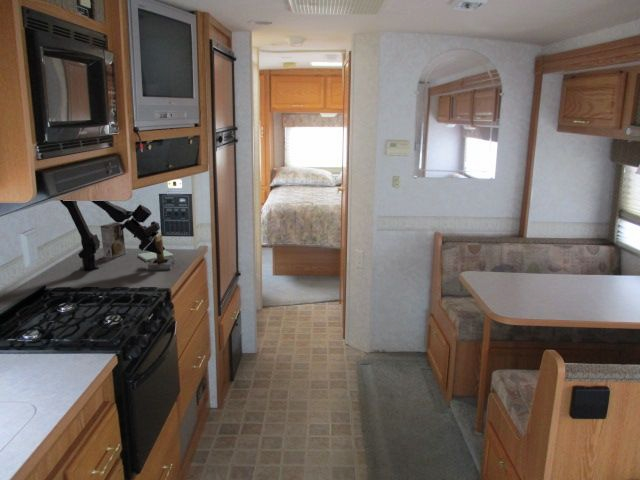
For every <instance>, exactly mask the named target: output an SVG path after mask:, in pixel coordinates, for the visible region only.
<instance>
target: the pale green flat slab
mask: <svg viewBox="0 0 640 480" xmlns="http://www.w3.org/2000/svg"><path fill="white" fill-rule="evenodd" d="M163 253H164V258H173V257H174V258H175V255H174V254H173V253H171V252H169V251H167V250H166V249H165V250H163ZM137 257H138V258H140V259H141V260H143V261H145V262H146V263H148V262H149V263H150V262H151V260H152V259H153V258H157V254H156V253H153V252H149V251H147V252H141V253H138V254H137Z"/></svg>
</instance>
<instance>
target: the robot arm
mask: <svg viewBox="0 0 640 480" xmlns="http://www.w3.org/2000/svg"><path fill="white" fill-rule="evenodd" d="M59 201H60V203H61V204H62V205H63V206H64V207H65V208H66V209H67V211H68V214H69V215H70V217H71V220H72V221H73V223H74V226H75V228H76V230H77V232H78V234H79V236H80V242H81V247H82V250H80V252H79V253H78V257H79V258H80V259H81V264H82V265H81V266H80V267H79V268H80V269H81V270H83V271H85V272H86V271H90V270H96V269H99V266H98V265H96V256H95V254H96V253H97V251H98V250H99V249H100V247H101V240H100V239H99V238H98V237H99V236H98V235H97V234H93V233H92V232H91V230H90V229H89V227H88V224H87V222H86V221H85V218H84V216H83V214H82V211H81V210H80V207H79V205H78V200H77V201H63V200H59ZM90 202H91V203H93V204H94V205H95V206H97V207H99V208H100V209H101V210H103V211H105V212H106V213H107V215H108V217H109V218H111V219H112V220H113V221H114V222H115V223H121V224H120V226H121V230H123V231H124V230H125V229H126V230H127V231H129V233H131V234H132V235H133V237H134V239H135V238H137V239H138V241H140V243H139V245H138V249H139V250H140V251H146V252H153V253H156V254H159V255H161V254H162V252H161V251H160V250H159V249H158V248H157V247H156V242H155V238H156V237H157V235H158V234H160V233H159V230H160V229H161V227H160V223H158V221H155V220H154V221H151V222H150V225H148V226H147V225H143V224H141V223H145V222H146V221H147V220H148V218H149V217H151V216H152V214H153V213H152V212H151V210H150V209H149V208H148V207H147V206H144V205H142V204H141V203H140V204H139V205H138V206H136V209H134V210H133V211H132V210H127V209H126V208H123V207H121V206H120V205H116V204H114V203H112V202H110V200H109V201H108V200H107V201H90ZM125 220H126V221H125ZM123 222H124V223H123ZM163 250H166V248H165V246H164V245H163Z"/></svg>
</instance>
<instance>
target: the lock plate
mask: <svg viewBox="0 0 640 480" xmlns="http://www.w3.org/2000/svg"><path fill="white" fill-rule="evenodd" d="M175 261H176V260H175V256H174V257H171V258H164V262H165V263H157V258H153V259H152V260H151V261H149V263H148V265H147V268H148V269H147V270H148V271H170V270H171V269H172V268H173V266H174V264H175Z"/></svg>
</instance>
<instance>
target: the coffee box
mask: <svg viewBox="0 0 640 480" xmlns="http://www.w3.org/2000/svg"><path fill="white" fill-rule="evenodd" d="M120 224H122V222H121V223H117V222H115V221H114V222H110V223H107V224H103V225H100V226H99V227H100V234H101V242H102V244H101V245H102V251H103V257H104V258H110V259H113V258H116V257H119V256H123V255H125V254H126V253H127V252H126V245H125V235H124V233H125V232H124V229H123V230H121V226H120Z"/></svg>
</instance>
